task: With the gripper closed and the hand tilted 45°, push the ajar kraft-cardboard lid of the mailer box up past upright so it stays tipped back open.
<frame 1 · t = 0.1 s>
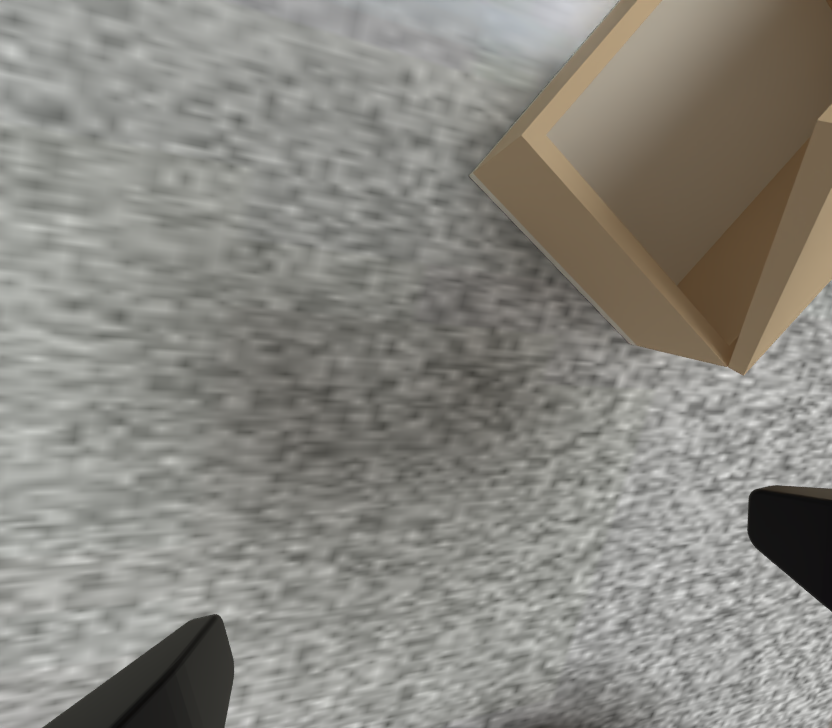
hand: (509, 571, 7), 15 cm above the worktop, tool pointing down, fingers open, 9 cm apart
mailer box: (679, 124, 21), on the worktop
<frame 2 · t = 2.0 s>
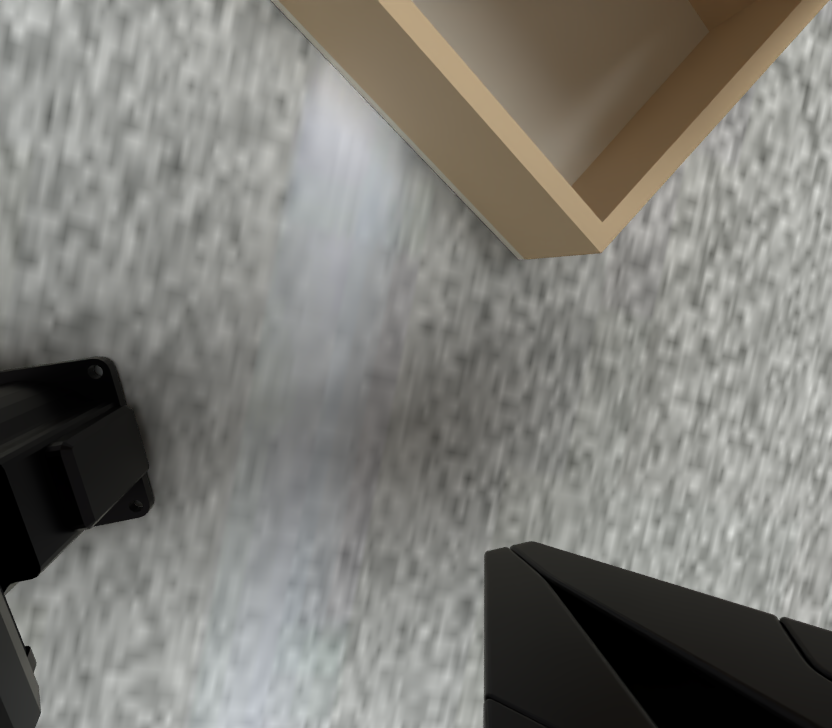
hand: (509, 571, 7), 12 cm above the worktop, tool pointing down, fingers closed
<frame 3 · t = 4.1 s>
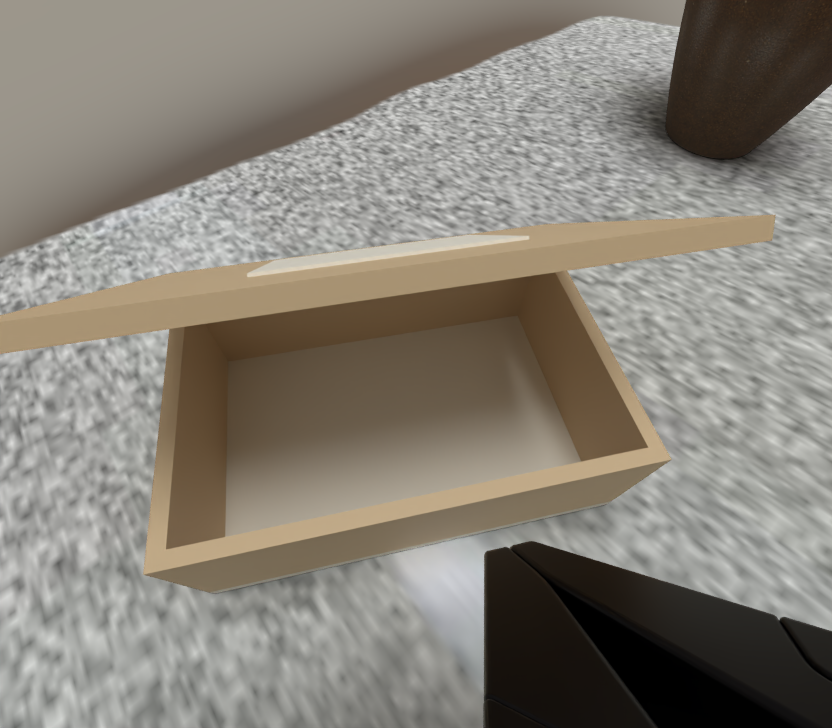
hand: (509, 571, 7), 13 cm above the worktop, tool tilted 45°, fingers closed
mailer box: (397, 426, 23), on the worktop
mailer lid: (384, 260, 15), point 10 cm above the worktop, hinge at 40.0°
plant pot: (704, 137, 39), on the worktop
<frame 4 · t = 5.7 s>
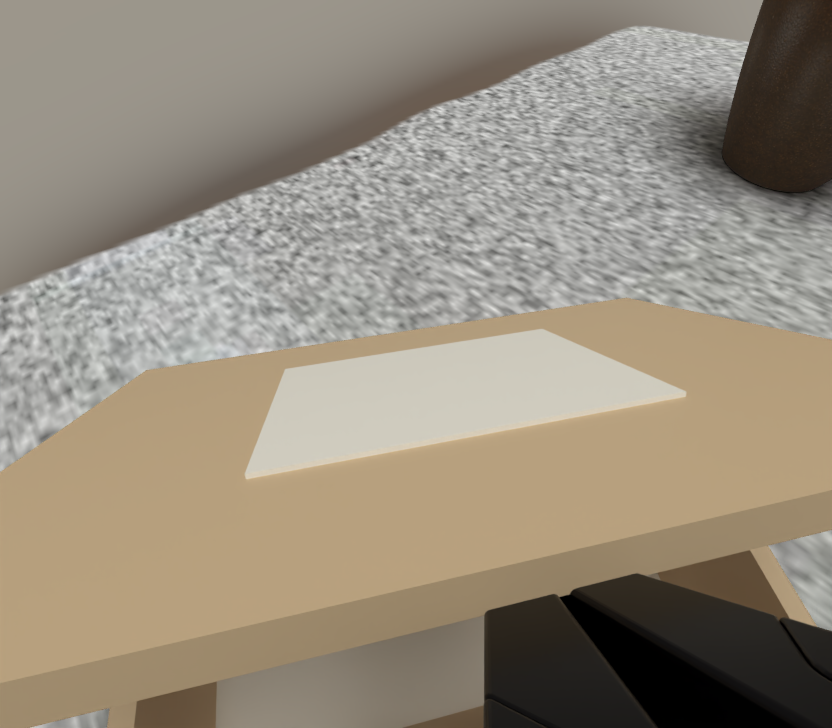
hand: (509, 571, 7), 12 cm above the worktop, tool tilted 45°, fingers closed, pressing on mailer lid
mailer box: (434, 546, 18), on the worktop
mailer lid: (442, 391, 11), point 10 cm above the worktop, hinge at 40.5°, touching gripper
plant pot: (766, 166, 34), on the worktop
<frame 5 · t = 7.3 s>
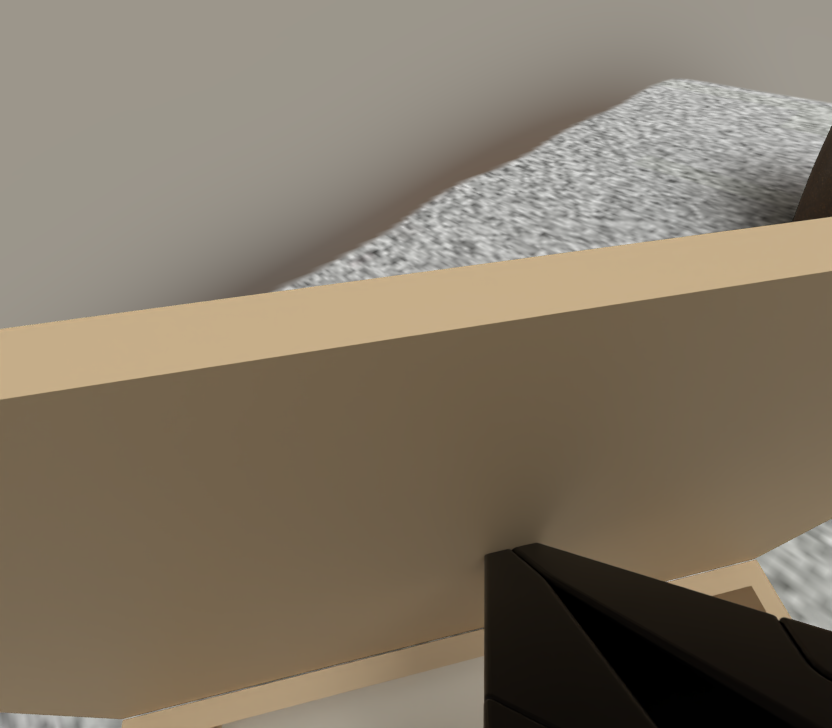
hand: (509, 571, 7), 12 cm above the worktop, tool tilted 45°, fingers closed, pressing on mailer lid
mailer lid: (496, 545, 8), point 12 cm above the worktop, hinge at 96.9°, touching gripper
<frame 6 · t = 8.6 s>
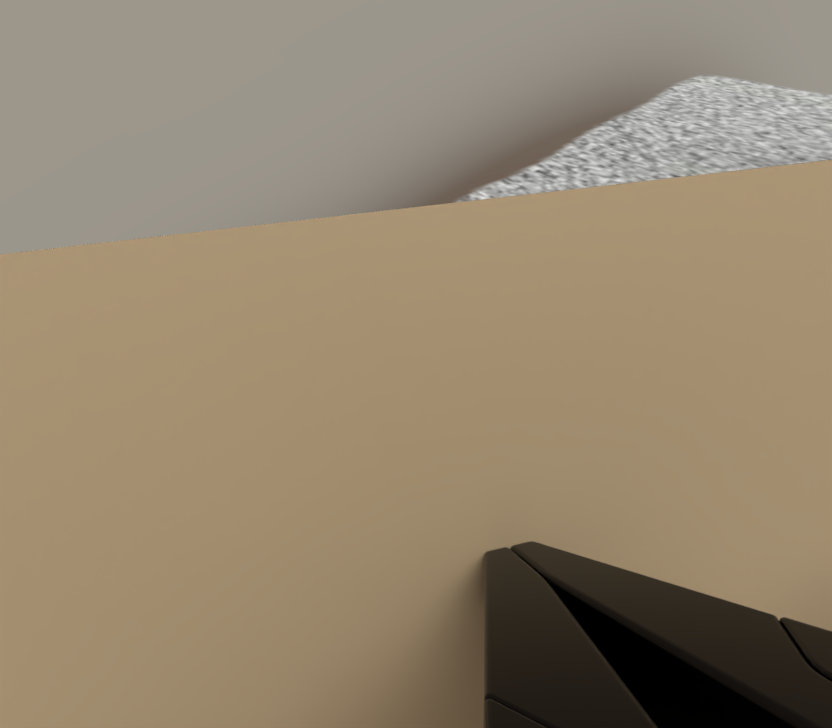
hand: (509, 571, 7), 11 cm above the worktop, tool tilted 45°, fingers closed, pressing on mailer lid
mailer lid: (504, 571, 7), point 10 cm above the worktop, hinge at 128.6°, touching gripper
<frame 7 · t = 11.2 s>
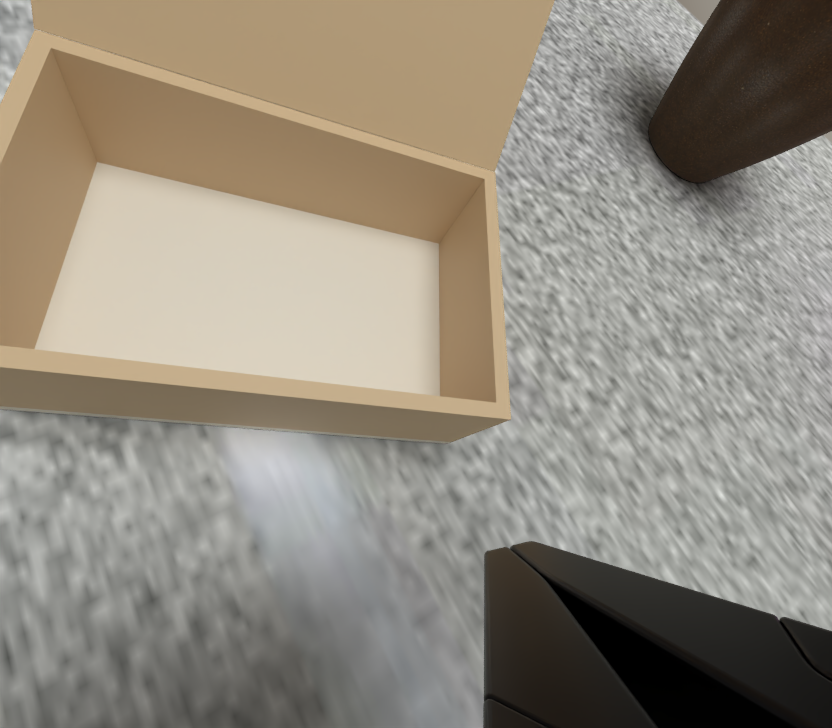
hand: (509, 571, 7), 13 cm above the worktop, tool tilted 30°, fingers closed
mailer box: (275, 306, 21), on the worktop
plant pot: (676, 150, 39), on the worktop
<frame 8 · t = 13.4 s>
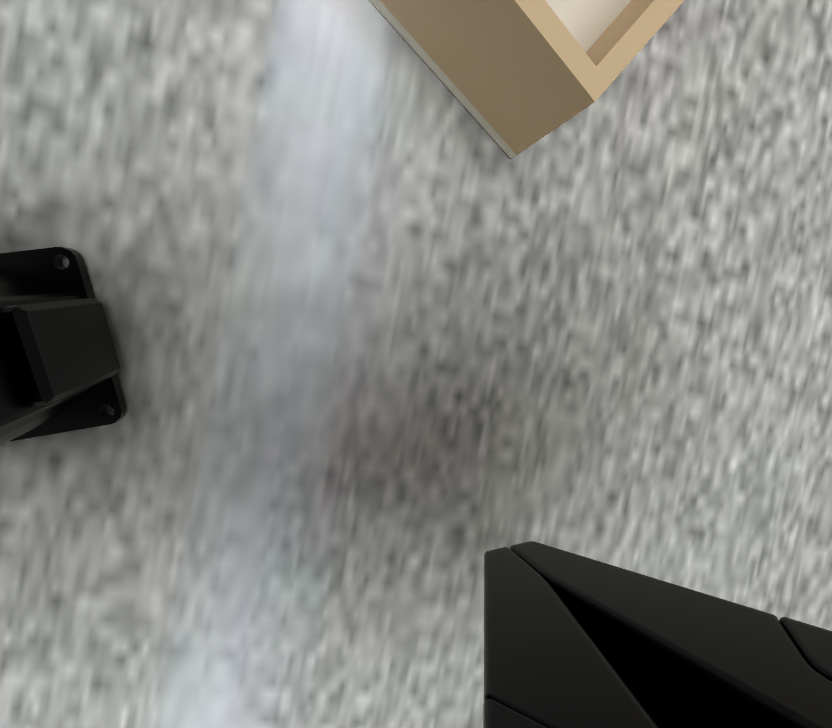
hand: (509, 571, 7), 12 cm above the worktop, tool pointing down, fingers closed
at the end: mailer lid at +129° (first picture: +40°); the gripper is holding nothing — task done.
